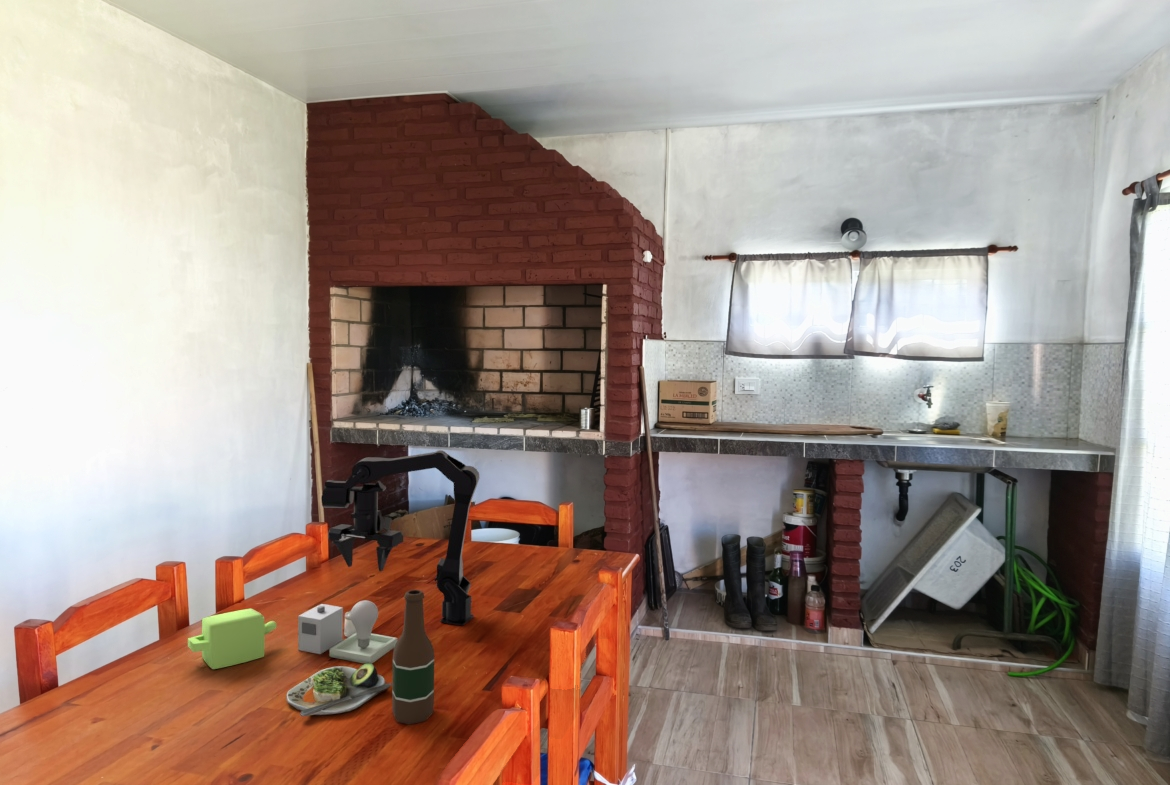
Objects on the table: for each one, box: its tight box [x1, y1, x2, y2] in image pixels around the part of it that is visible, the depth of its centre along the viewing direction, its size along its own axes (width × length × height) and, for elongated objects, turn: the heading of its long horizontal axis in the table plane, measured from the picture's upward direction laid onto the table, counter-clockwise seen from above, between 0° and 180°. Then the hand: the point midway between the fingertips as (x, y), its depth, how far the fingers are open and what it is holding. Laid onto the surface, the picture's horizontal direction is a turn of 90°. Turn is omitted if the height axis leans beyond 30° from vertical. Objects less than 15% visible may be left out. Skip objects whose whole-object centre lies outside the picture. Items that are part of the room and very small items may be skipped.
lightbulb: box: [350, 599, 379, 649], centre depth 161 cm, size 6×6×11 cm
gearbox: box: [187, 608, 277, 670], centre depth 157 cm, size 18×10×10 cm, turn 133°
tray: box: [329, 632, 398, 665], centre depth 162 cm, size 11×11×2 cm
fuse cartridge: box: [343, 610, 356, 638], centre depth 171 cm, size 4×4×5 cm
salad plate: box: [285, 663, 393, 717], centre depth 141 cm, size 19×18×5 cm
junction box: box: [297, 603, 344, 655], centre depth 164 cm, size 6×9×9 cm
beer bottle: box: [391, 589, 435, 726], centre depth 134 cm, size 8×8×24 cm
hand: (365, 568), depth 179 cm, fingers open, 9 cm apart
